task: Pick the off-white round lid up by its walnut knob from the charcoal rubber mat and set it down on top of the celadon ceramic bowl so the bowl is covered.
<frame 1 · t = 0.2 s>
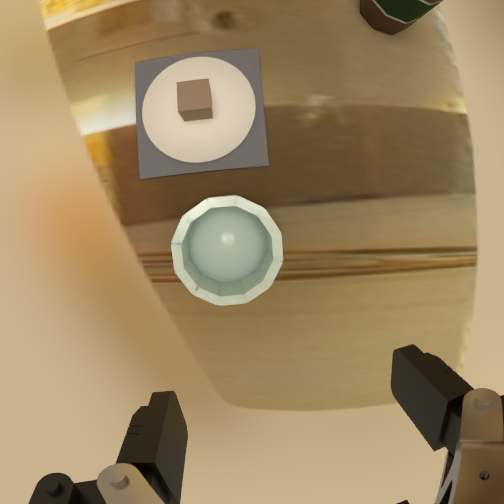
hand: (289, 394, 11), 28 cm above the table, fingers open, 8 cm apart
mat: (198, 109, 35), on the table
beer bottle: (381, 14, 33), on the table
lid: (198, 108, 34), resting on mat
bowl: (227, 242, 38), on the table
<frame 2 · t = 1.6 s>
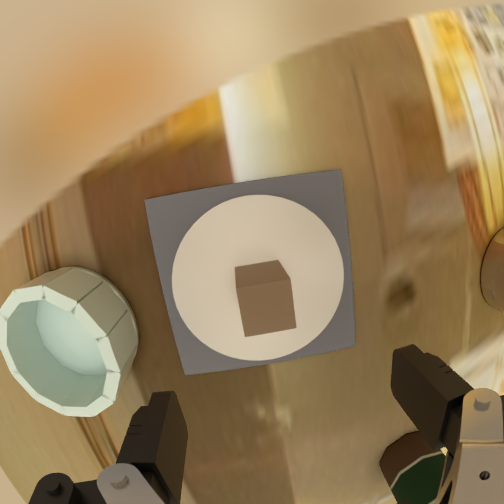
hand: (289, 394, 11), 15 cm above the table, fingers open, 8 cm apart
mat: (258, 278, 25), on the table
beer bottle: (405, 449, 31), on the table
lid: (258, 280, 25), resting on mat
bowl: (82, 326, 25), on the table
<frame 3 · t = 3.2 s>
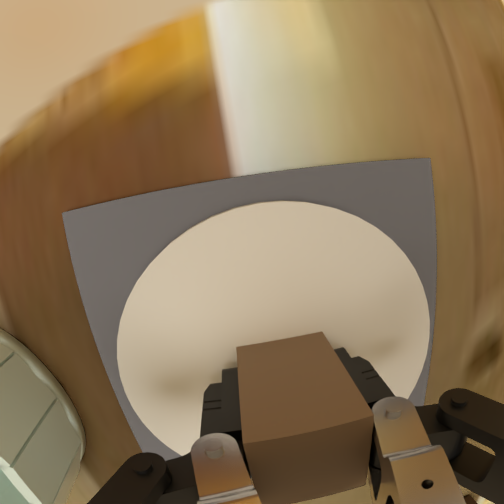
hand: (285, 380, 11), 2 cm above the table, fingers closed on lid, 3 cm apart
mat: (277, 357, 13), on the table
lid: (280, 362, 13), resting on mat, touching gripper
bowl: (6, 404, 13), on the table
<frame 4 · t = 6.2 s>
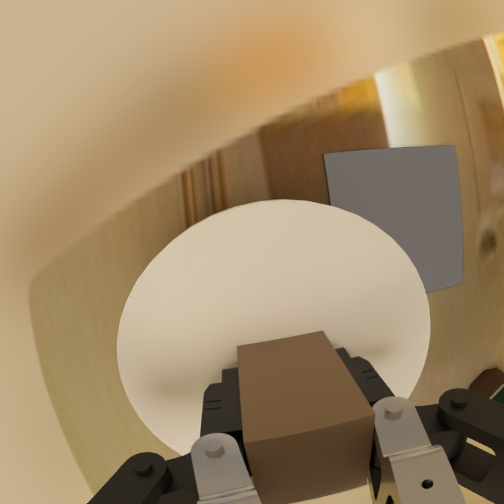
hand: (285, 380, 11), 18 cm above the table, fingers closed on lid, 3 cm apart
mat: (404, 224, 29), on the table
beer bottle: (481, 388, 35), on the table
lid: (281, 361, 13), point 17 cm above the table, touching gripper
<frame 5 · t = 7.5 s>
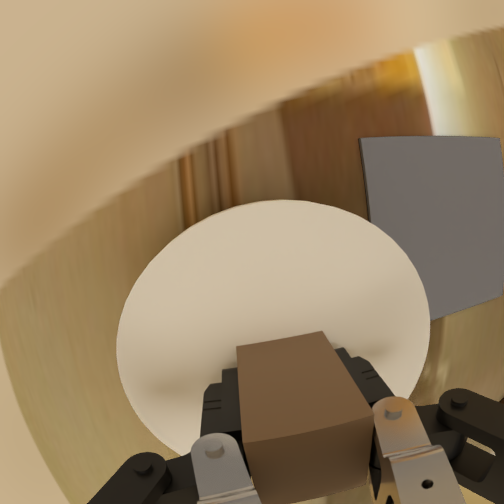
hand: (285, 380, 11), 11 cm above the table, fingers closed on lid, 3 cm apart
mat: (448, 228, 23), on the table
lid: (280, 361, 13), point 10 cm above the table, touching gripper
when the fingers open (8 cm above the table, at t = 8.8 s): lid stays where it is, resting on bowl.
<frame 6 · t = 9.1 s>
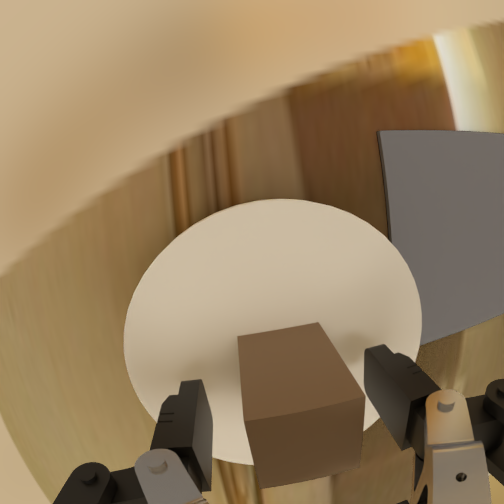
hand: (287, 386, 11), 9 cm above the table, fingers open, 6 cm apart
mat: (471, 234, 20), on the table
lid: (279, 352, 14), point 6 cm above the table, touching bowl
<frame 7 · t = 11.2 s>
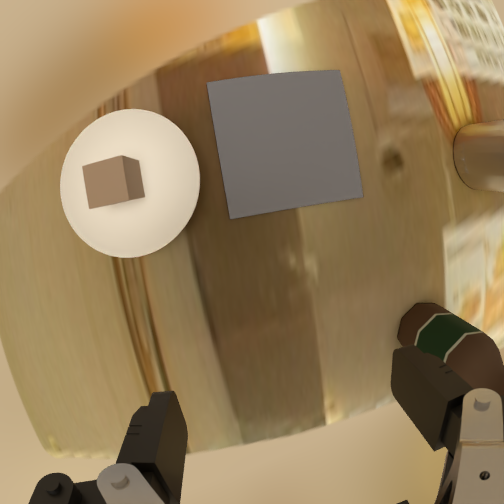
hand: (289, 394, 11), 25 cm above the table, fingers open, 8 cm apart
mat: (287, 138, 33), on the table
beer bottle: (418, 325, 39), on the table
lid: (127, 182, 27), point 6 cm above the table, touching bowl
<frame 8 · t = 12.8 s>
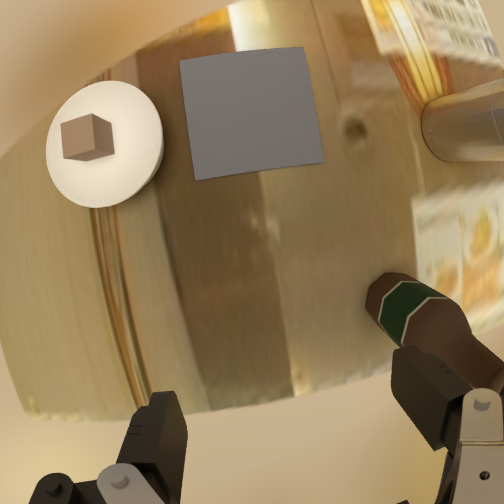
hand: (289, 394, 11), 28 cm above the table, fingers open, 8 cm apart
mat: (251, 108, 35), on the table
beer bottle: (388, 297, 41), on the table
lid: (102, 143, 29), point 6 cm above the table, touching bowl
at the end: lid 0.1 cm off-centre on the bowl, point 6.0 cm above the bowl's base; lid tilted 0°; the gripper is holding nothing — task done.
